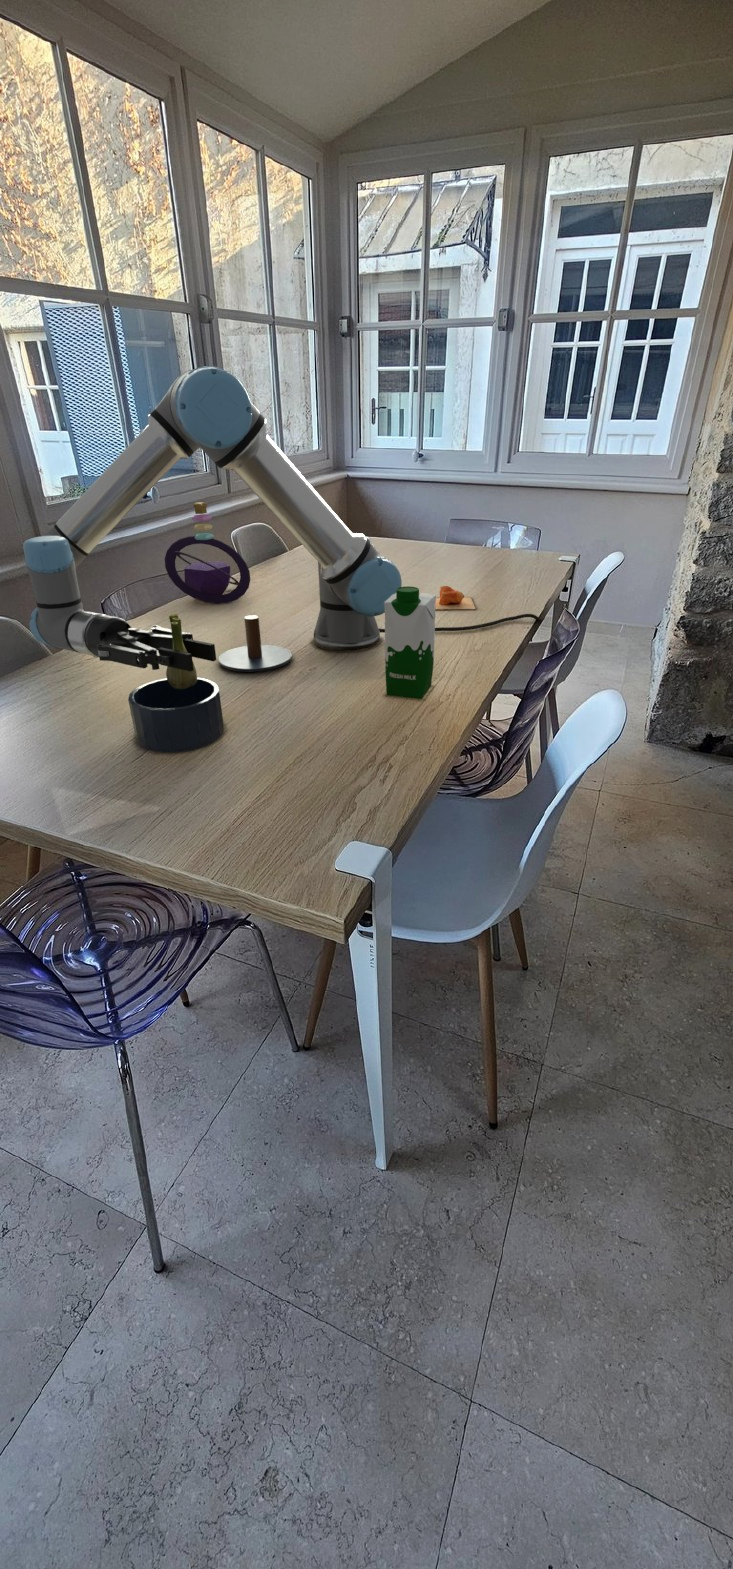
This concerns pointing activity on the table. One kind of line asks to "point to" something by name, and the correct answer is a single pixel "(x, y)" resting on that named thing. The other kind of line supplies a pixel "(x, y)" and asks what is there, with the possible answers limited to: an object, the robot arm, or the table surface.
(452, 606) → the rock
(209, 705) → the pot
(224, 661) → the pot lid
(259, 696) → the table surface
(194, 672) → the fennel bulb
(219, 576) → the decorative bottle
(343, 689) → the table surface
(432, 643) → the milk carton
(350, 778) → the table surface
